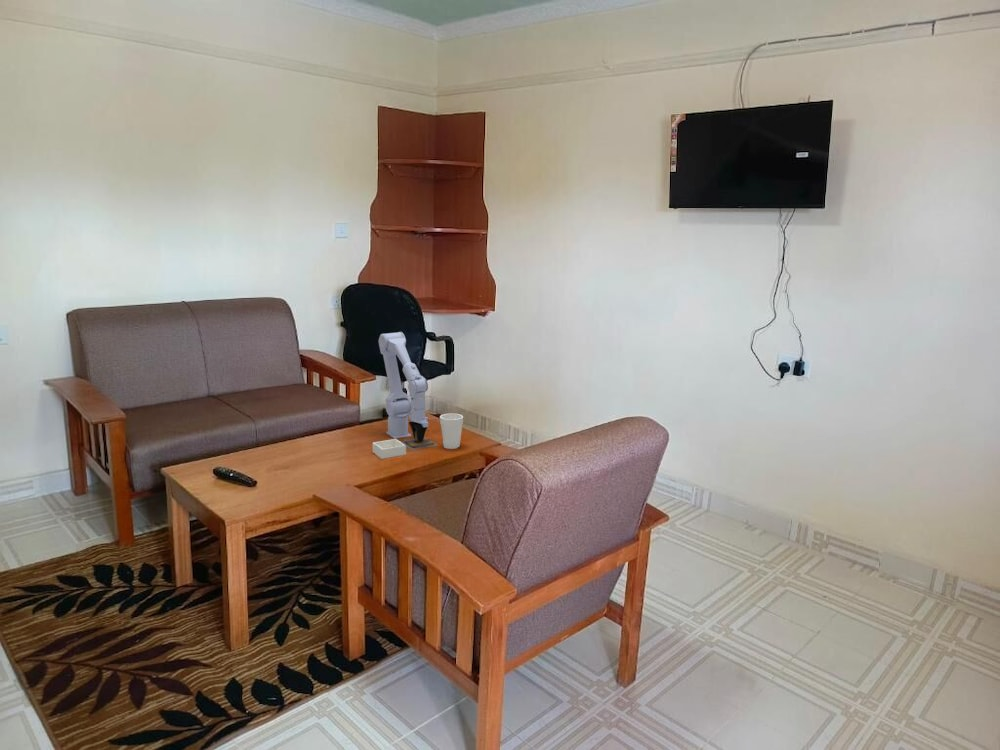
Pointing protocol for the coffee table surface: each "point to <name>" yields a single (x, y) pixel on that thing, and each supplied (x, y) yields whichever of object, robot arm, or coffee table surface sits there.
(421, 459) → the coffee table surface
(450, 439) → the foam cup
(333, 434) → the coffee table surface
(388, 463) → the coffee table surface
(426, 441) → the lid
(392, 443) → the white open box
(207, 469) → the coffee table surface
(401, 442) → the mat
